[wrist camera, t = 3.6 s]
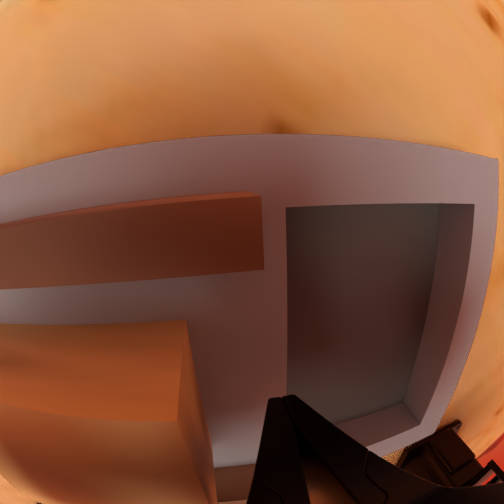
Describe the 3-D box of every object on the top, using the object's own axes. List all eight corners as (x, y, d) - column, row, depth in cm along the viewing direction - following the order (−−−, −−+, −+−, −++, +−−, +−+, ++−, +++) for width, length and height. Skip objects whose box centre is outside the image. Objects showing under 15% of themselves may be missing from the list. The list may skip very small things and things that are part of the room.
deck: (415, 410, 15) (434, 432, 13) (-40, 418, 11) (-52, 435, 8) (461, 157, 11) (498, 159, 9) (-111, 230, 6) (-131, 238, 4)
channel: (263, 476, 11) (271, 508, 9) (24, 460, 9) (15, 482, 7) (247, 190, 8) (261, 196, 6) (-76, 243, 6) (-105, 255, 4)
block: (212, 444, 10) (220, 526, 6) (46, 433, 9) (22, 495, 5) (185, 319, 8) (176, 420, 4) (-11, 322, 7) (-68, 379, 3)
